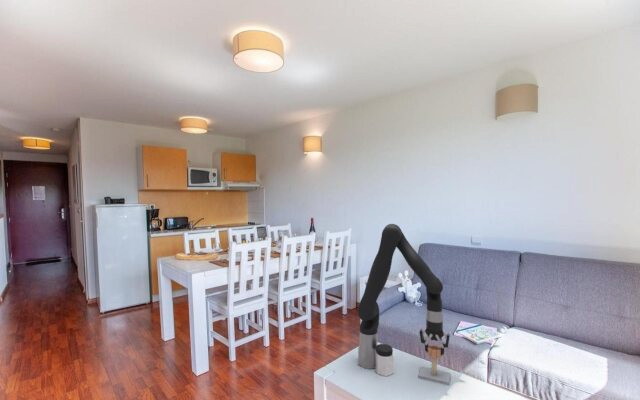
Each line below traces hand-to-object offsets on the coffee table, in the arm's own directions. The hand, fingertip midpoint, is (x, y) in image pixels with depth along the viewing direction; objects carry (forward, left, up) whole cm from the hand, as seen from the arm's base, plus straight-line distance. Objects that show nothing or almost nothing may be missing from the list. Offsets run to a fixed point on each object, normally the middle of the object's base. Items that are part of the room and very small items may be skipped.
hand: (434, 353), depth 151 cm
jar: (-23, -6, -12) cm, 26 cm away
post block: (0, 0, -11) cm, 11 cm away
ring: (0, 0, -1) cm, 1 cm away
